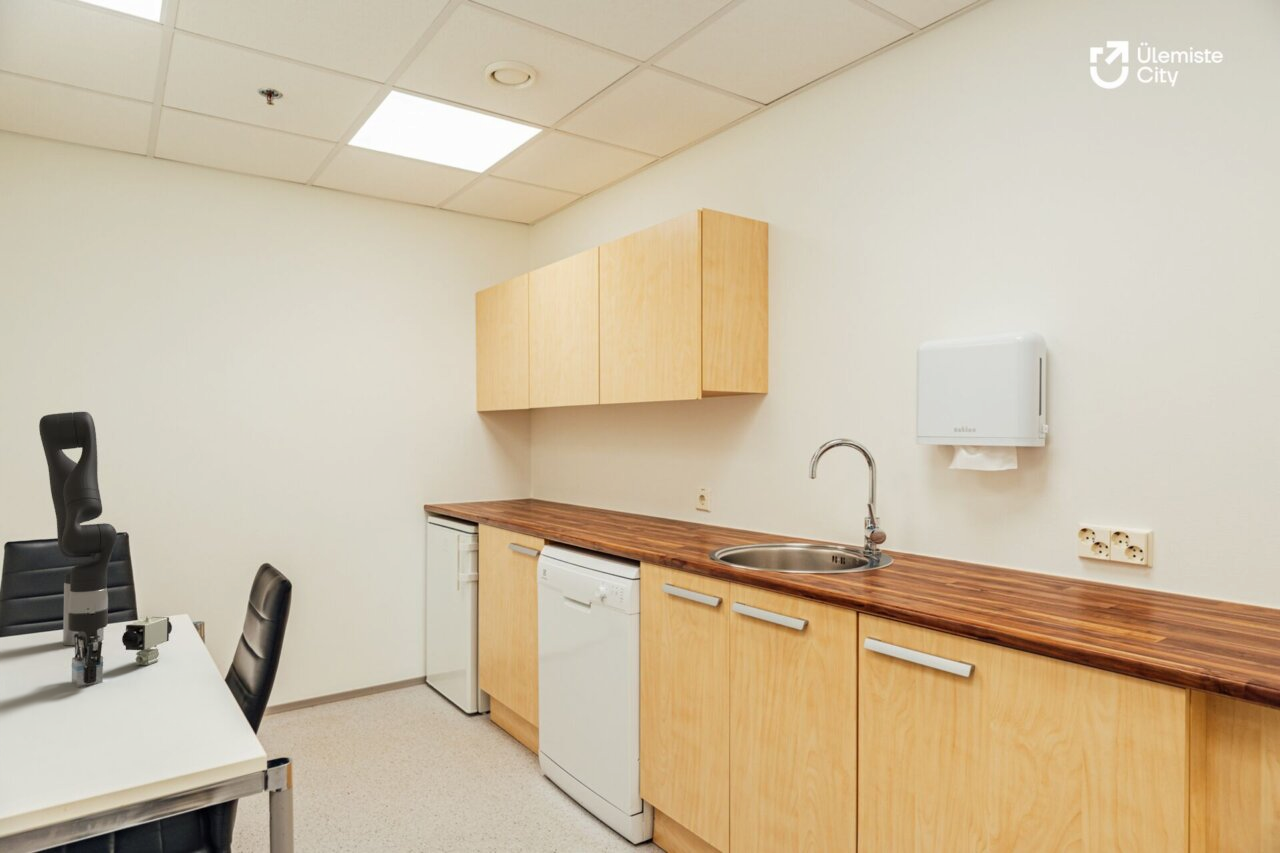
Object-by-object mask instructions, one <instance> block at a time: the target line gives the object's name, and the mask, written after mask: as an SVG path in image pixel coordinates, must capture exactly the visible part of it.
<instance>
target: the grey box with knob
mask: <svg viewBox="0 0 1280 853" xmlns="http://www.w3.org/2000/svg"><path fill="white" fill-rule="evenodd" d="M85 654H87V653H85ZM93 660H94V657H92V658H91V659H90V661H93ZM103 667H104V657H103V656H102V655H101V659H100V665H98V666H96V681H95V682H94V683H89V684H86V683H84V659H83V658H81V657H75V656H74V657H72V658H71V685H73V687H75V688H81V687H86V686H90V685H95V684H99V683H103V680H104V679H103V674H104V673H103V672H104V668H103Z"/></svg>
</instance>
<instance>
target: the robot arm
mask: <svg viewBox="0 0 1280 853" xmlns="http://www.w3.org/2000/svg"><path fill="white" fill-rule="evenodd" d="M38 424H39V426H38V429H39V436H40V440H41V443H42V447H43V448H42V449H43V451H44V452H43V453H44V455H45V460H46V463H47V464H46V465H47V468H48V469H47V470H48V477H49V486H50V493H51V494H50V495H51V499H52V503H53V508H54V512H55V517H56V518H55V519H56V531H57V532H56V533H57V534H56V536H57V545H58V546H57V548H58V552H59V553H60V555H61V557H63V558H66V559H78V558H79V559H82V558H90V561H88V562H85V563H81V564H78V565H74V566H73V567H72V568H71V569H70V570H69V571H67V572H65V573H64V578H63V580H64V583H63V624H62V625H63V631H62V632H63V634H62V643H63V645H65V646H74V657H81V658H83V659H84V683H86V684H89V683H94V682H95V681H96V666H98V665H100V659H101V656H102V647H103V641H102V640H104V630H105V628H106V627H107V626H108V622H109V621H108V619H109V617H108V616H109V614H108V612H109V611H108V610H109V594H108V568H109V564H110V561H111V558H112V554H113V552H114V549H115V547H116V543H117V540H118V532H117V530H116V528H115V527H114V526H113V525H112V524H110V523H107V522H106V523H104V522H103V523H93V524H92V523H91V524H89V523H88V524H83V523H86V522H90V521H93V520H95V519H98V518H99V517H100V516H101V515H102V513H103V504H102V499H101V493H100V488H99V481H98V479H99V478H98V445H97V442H98V441H97V433H96V426H95V420H94V419H93V416H92V415H91V413H90V412H88V411H73V412H59V413H52V414H46V415H43V416H41V418H40V419H39V423H38ZM70 449H71V450H72V449H73V450H74V449H81V454H80V457H79V460H78V461H77V462H76V461H75V460H72V459H71V457H69V456H67V455H66V453H65V452H64V451H63V450H70ZM85 653H87V654H85ZM92 657H94V660H93V661H90V659H91V658H92Z"/></svg>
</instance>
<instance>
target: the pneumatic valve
mask: <svg viewBox="0 0 1280 853" xmlns="http://www.w3.org/2000/svg"><path fill="white" fill-rule="evenodd" d="M172 630H173V625H172V623H171V622H170V617H169V616H168V617H167V616H166V617H165V616H152V617H151V616H146V617H145V619H142V620H137V621H134V622H132V623H129V624H125V632H123V634H122V638H121V642H122V645H123V646H124V647H125V650H126V651H137V652H136V653H135V655H136V657H135V665H137V666H140V665H145V666H149V665H153V664H154V663H157V662H159V658H158V657H159V655H160V652H159V649H158V648H156V647H157V646H158V645H160V644H163V643H167V642H169V641H170V640H169V639H170V638H169V637H170V634H171V632H172Z"/></svg>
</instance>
